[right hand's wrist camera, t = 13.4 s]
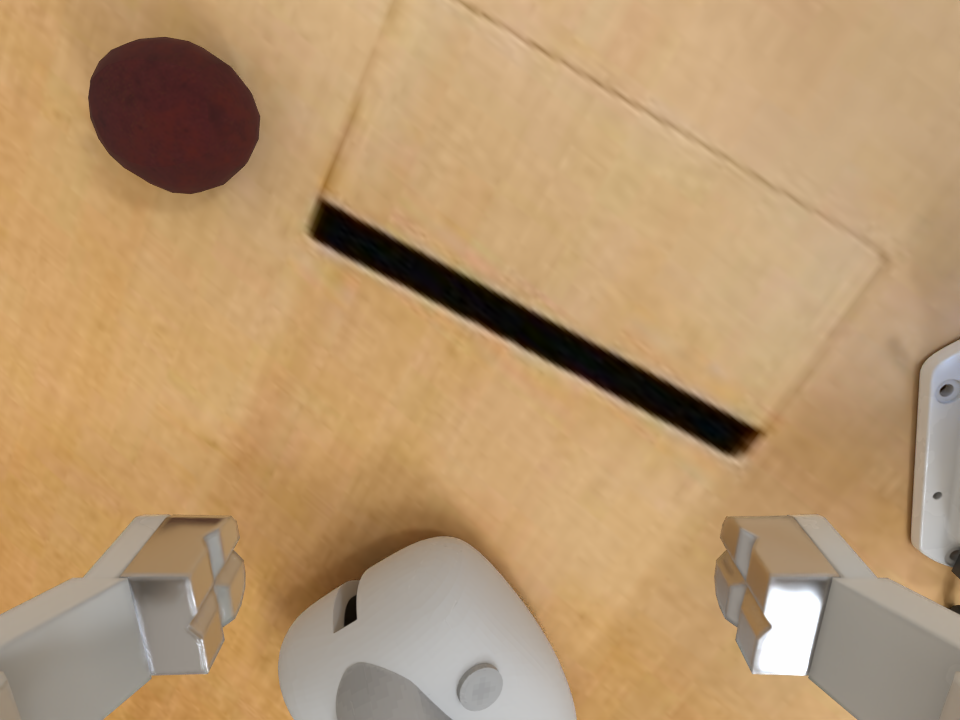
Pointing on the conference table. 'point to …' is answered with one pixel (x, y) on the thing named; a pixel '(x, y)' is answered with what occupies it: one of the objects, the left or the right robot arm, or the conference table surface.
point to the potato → (173, 114)
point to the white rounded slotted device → (423, 645)
